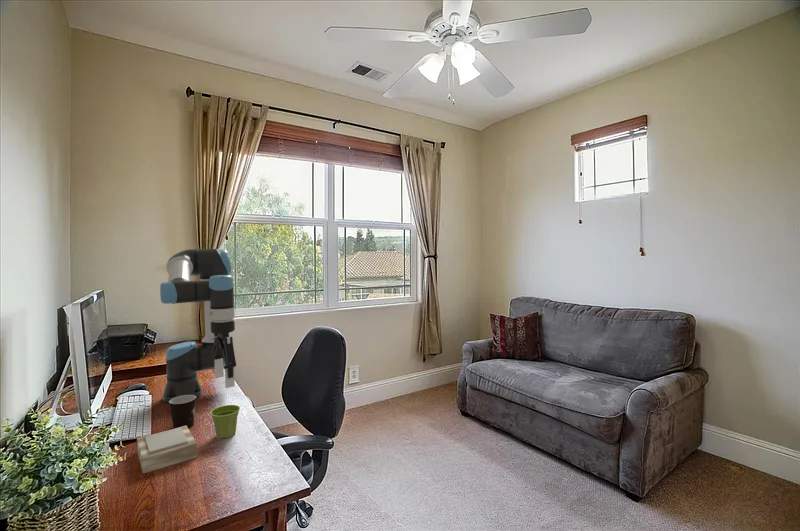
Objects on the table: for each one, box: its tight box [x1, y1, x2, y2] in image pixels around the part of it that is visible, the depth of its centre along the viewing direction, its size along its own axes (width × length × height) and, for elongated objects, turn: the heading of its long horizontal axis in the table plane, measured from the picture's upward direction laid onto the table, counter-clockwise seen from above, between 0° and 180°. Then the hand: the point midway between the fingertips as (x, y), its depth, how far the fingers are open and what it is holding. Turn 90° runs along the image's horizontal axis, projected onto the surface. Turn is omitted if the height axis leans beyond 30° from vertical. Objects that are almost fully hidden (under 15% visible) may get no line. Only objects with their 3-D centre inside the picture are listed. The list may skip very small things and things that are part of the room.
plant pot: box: [209, 404, 241, 439], centre depth 134 cm, size 9×9×9 cm
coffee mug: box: [168, 395, 197, 429], centre depth 143 cm, size 12×9×10 cm
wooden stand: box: [136, 425, 198, 474], centre depth 121 cm, size 16×14×5 cm
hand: (224, 382), depth 133 cm, fingers open, 13 cm apart
